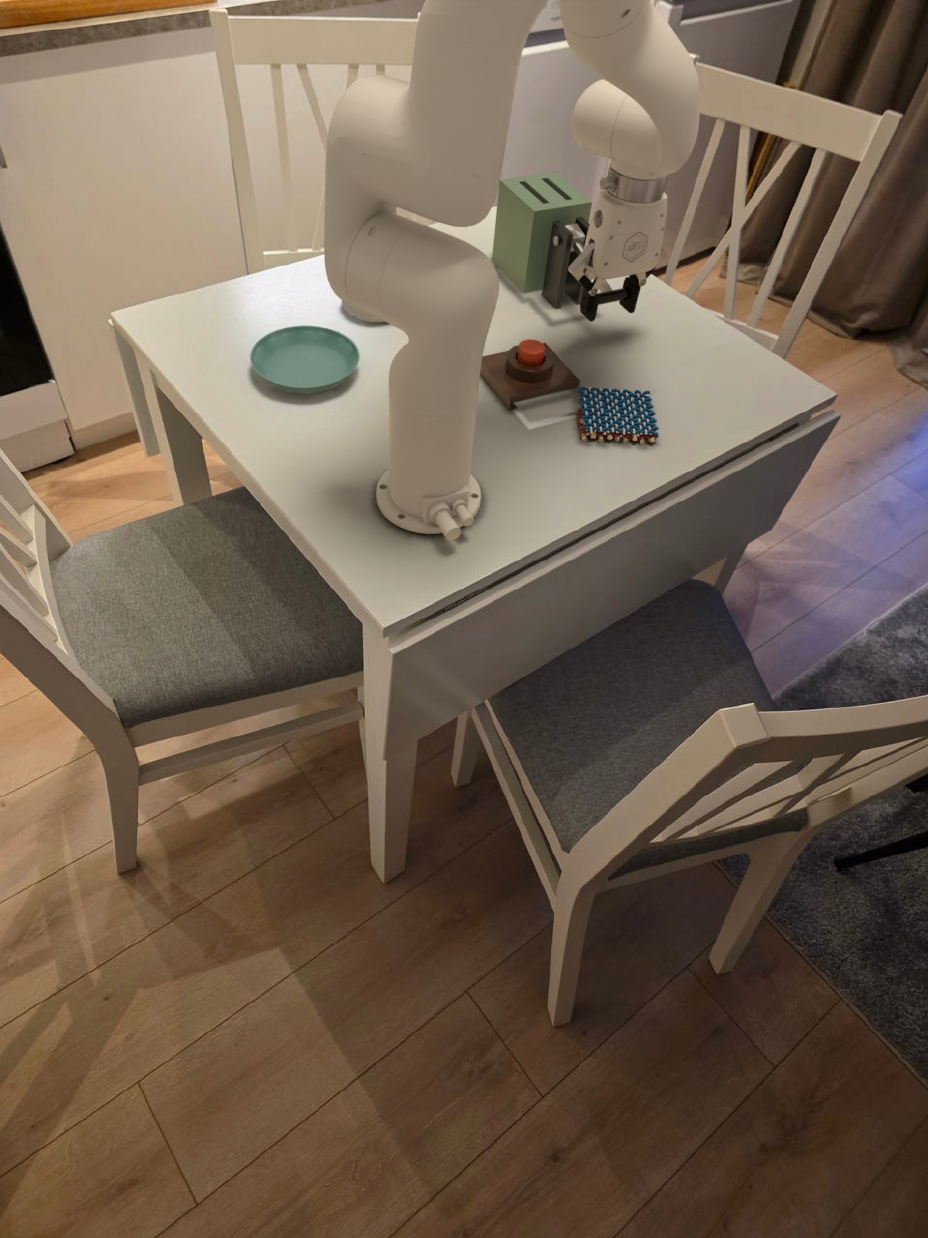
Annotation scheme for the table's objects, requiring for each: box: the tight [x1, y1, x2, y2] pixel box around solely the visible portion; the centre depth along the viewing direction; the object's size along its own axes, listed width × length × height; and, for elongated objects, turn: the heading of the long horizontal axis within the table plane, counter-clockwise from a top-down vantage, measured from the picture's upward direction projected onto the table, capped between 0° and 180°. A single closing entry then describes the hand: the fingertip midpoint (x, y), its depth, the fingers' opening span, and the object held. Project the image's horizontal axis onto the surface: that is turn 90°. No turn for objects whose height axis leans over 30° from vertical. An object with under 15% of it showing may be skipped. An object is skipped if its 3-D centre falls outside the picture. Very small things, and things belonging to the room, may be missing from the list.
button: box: [517, 338, 545, 366], centre depth 112 cm, size 4×4×2 cm
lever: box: [565, 224, 631, 306], centre depth 119 cm, size 14×6×2 cm, turn 27°
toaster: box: [491, 171, 593, 294], centre depth 129 cm, size 11×10×14 cm
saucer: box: [249, 325, 361, 395], centre depth 113 cm, size 15×15×3 cm
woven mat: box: [576, 385, 659, 446], centre depth 111 cm, size 10×11×2 cm
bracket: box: [541, 217, 590, 310], centre depth 125 cm, size 8×8×13 cm
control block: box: [480, 342, 581, 411], centre depth 114 cm, size 10×11×4 cm
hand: (607, 311), depth 119 cm, fingers open, 6 cm apart
